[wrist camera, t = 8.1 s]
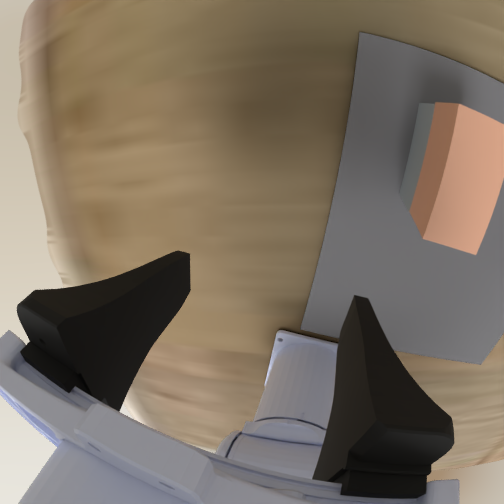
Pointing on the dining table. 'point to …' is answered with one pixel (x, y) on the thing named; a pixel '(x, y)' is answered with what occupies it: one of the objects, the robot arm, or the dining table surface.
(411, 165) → the brick slate
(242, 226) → the dining table surface
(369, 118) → the felt mat
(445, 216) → the brick terracotta
